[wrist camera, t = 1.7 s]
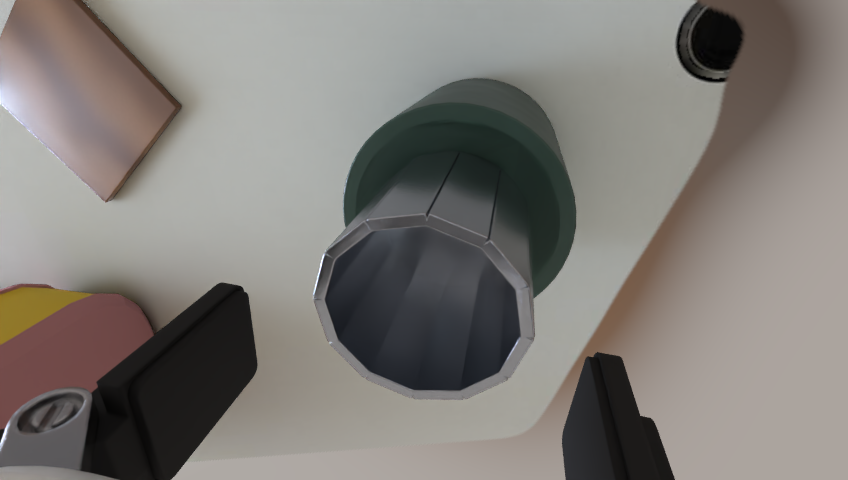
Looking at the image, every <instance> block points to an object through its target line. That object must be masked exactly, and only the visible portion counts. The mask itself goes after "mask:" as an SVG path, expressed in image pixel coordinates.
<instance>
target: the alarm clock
mask: <svg viewBox="0 0 848 480" xmlns="http://www.w3.org/2000/svg"><path fill="white" fill-rule="evenodd" d="M152 336H154V334H153V331H152V328H151V325H150V323H149V321H148V319H147V318H146V316H145V315H144V313H143V312H142V310H141V309H140V307H139V306H138V305H137V304H136V303H134V302H132V301H131V300H129V299H127V298H125V297H123V296H121V295H119V294H101V293H95V294H91V293H83V292H75V291H67V290H59V289H55V288H53V287H51V286H49V285H43V284H18V285H13V286H10V287H7V288H4V289H1V290H0V429H4V428H6V426H7V423H8V422H9V420H10V418H11V417H12V415H13V414H14V413H15V412H16V411H17V410H18V409H19V408H20V407H21V406H23V405H24V404H26V403H27V402H28V401H30V400H31V399H33V398H35V397H37V396H39V395H41V394H43V393H46V392H49V391H52V390H55V389H58V388H64V387H82V388H85V389H87V390H88V391H89V392H90V393H92V392H93V391H94V390H95V389H96V388H98V386H97V383H96V381H98V380H99V379H100V378H101V377H103V376H104V375H105V374H106V373H108V372H109V371H110V370H111V369H113V368H114V367H115V366H116V365H118V364H119V363H120V362H121V361H123V360H124V359H125V358H126V357H128V356H129V355H130V354H131V353H133V352H134V351H135V350H136V349H137V348H139V347H140V346H141V345H142V344H144V343H145V342H146V341H147V340H149V339H150V338H151V337H152Z"/></svg>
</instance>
